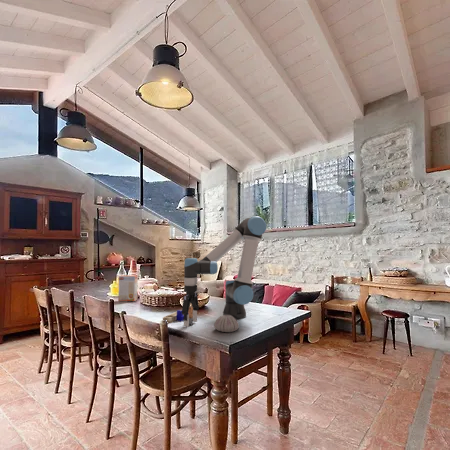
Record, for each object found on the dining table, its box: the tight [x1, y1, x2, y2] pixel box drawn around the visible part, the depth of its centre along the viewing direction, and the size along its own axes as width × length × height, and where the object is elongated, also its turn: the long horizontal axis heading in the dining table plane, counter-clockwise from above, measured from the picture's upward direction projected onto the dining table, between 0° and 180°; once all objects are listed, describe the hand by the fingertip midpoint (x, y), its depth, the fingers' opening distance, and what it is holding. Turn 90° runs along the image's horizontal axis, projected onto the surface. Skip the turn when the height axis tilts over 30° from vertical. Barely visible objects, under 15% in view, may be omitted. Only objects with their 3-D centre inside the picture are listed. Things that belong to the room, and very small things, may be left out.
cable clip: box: [176, 309, 184, 322], centre depth 184 cm, size 12×4×6 cm, turn 148°
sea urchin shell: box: [214, 314, 239, 333], centre depth 160 cm, size 13×14×8 cm
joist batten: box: [162, 311, 184, 324], centre depth 183 cm, size 5×20×3 cm, turn 159°
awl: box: [188, 306, 194, 327], centre depth 170 cm, size 3×3×10 cm
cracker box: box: [118, 274, 139, 302], centre depth 243 cm, size 14×6×21 cm, turn 82°
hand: (190, 323), depth 170 cm, fingers open, 10 cm apart
